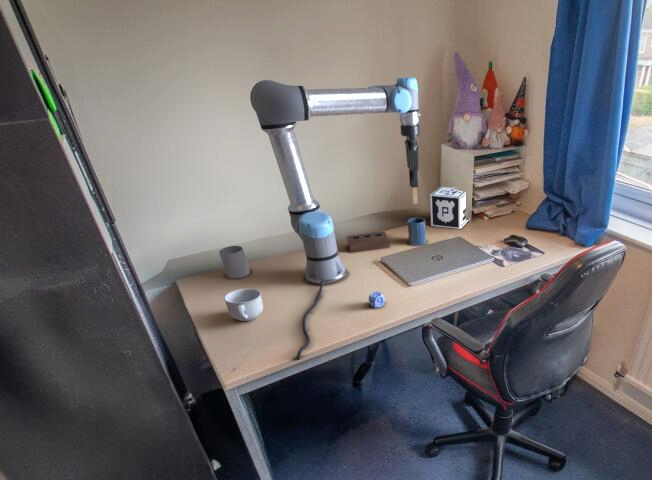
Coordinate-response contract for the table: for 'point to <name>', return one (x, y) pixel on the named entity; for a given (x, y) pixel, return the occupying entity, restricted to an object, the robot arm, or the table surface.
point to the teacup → (244, 304)
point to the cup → (234, 262)
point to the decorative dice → (376, 299)
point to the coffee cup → (417, 231)
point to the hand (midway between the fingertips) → (414, 186)
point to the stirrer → (414, 193)
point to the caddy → (367, 241)
